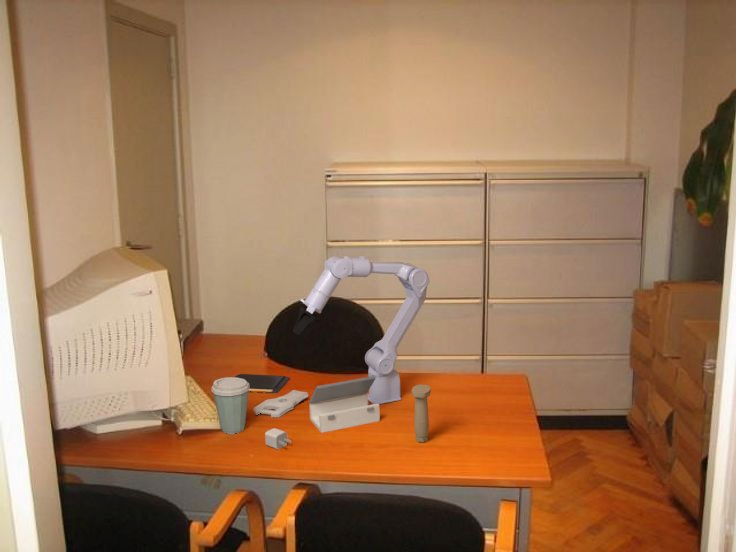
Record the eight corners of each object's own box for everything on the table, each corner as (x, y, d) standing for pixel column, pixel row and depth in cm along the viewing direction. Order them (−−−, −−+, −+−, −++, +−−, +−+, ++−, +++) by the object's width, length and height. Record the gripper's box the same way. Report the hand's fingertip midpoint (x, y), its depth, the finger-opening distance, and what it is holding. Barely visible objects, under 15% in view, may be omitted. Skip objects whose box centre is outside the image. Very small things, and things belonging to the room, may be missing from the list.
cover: (366, 394, 216) (365, 391, 216) (375, 378, 208) (374, 375, 208) (309, 404, 209) (309, 401, 210) (317, 389, 201) (316, 385, 201)
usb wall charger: (276, 440, 198) (275, 427, 197) (294, 447, 194) (293, 433, 193) (265, 446, 195) (264, 432, 194) (283, 452, 191) (282, 438, 190)
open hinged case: (366, 408, 218) (365, 393, 217) (380, 421, 208) (380, 405, 207) (310, 419, 211) (309, 403, 210) (322, 433, 201) (321, 417, 200)
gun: (284, 384, 230) (310, 389, 225) (285, 394, 231) (311, 399, 226) (249, 407, 215) (276, 413, 210) (250, 417, 216) (276, 424, 211)
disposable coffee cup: (238, 419, 213) (235, 371, 209) (260, 429, 205) (256, 380, 202) (207, 430, 205) (203, 381, 202) (228, 441, 198) (225, 390, 195)
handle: (410, 444, 193) (409, 392, 190) (415, 434, 199) (415, 384, 196) (427, 446, 192) (427, 394, 188) (432, 436, 197) (432, 385, 194)
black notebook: (291, 374, 245) (276, 390, 231) (291, 379, 246) (276, 396, 231) (237, 371, 250) (218, 387, 235) (237, 376, 250) (219, 392, 236)
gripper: (309, 285, 217) (285, 324, 216) (309, 285, 202) (283, 326, 202) (329, 298, 217) (305, 336, 217) (330, 299, 203) (304, 339, 202)
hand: (296, 332), depth 209 cm, fingers open, 7 cm apart
